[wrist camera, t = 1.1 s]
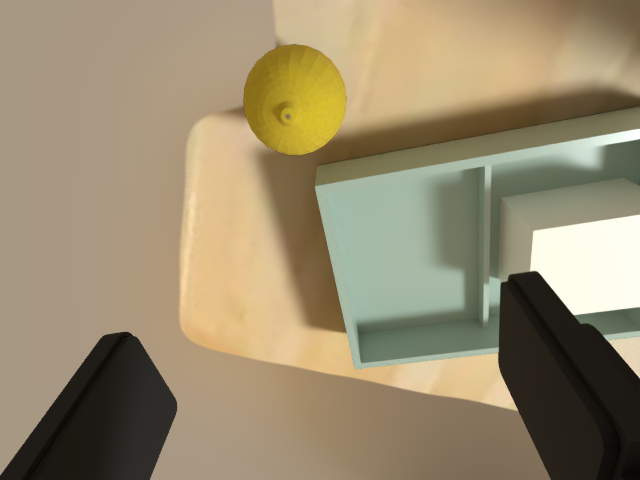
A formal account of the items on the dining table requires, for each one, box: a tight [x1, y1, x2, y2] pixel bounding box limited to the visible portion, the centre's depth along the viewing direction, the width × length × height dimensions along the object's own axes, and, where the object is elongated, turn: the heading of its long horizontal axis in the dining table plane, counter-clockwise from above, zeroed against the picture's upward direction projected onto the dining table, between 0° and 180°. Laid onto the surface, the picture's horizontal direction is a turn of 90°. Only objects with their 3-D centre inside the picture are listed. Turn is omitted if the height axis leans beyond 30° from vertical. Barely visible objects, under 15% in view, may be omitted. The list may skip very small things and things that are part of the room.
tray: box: [315, 106, 640, 369], centre depth 27 cm, size 16×22×4 cm
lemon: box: [243, 44, 347, 155], centre depth 21 cm, size 6×6×8 cm
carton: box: [498, 178, 640, 315], centre depth 26 cm, size 7×8×5 cm
